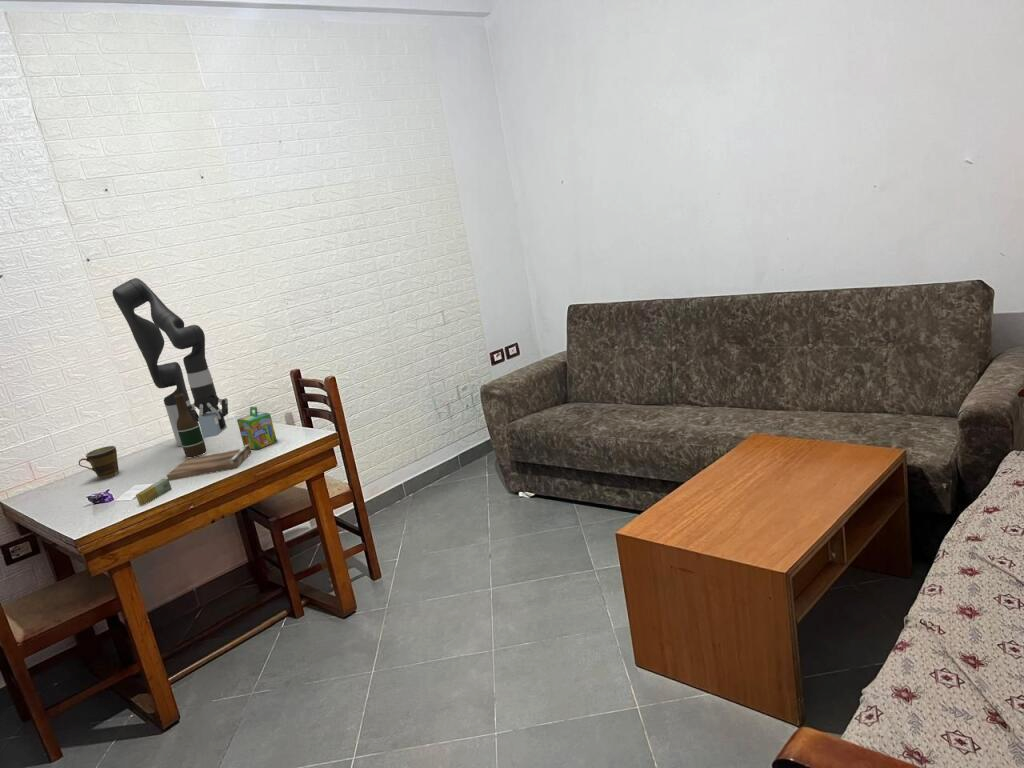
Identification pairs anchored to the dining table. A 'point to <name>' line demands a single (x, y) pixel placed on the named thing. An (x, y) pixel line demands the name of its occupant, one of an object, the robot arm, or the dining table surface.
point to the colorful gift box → (257, 429)
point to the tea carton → (210, 425)
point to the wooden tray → (210, 463)
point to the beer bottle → (188, 429)
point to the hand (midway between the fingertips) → (214, 429)
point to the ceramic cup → (103, 461)
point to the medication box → (153, 491)
